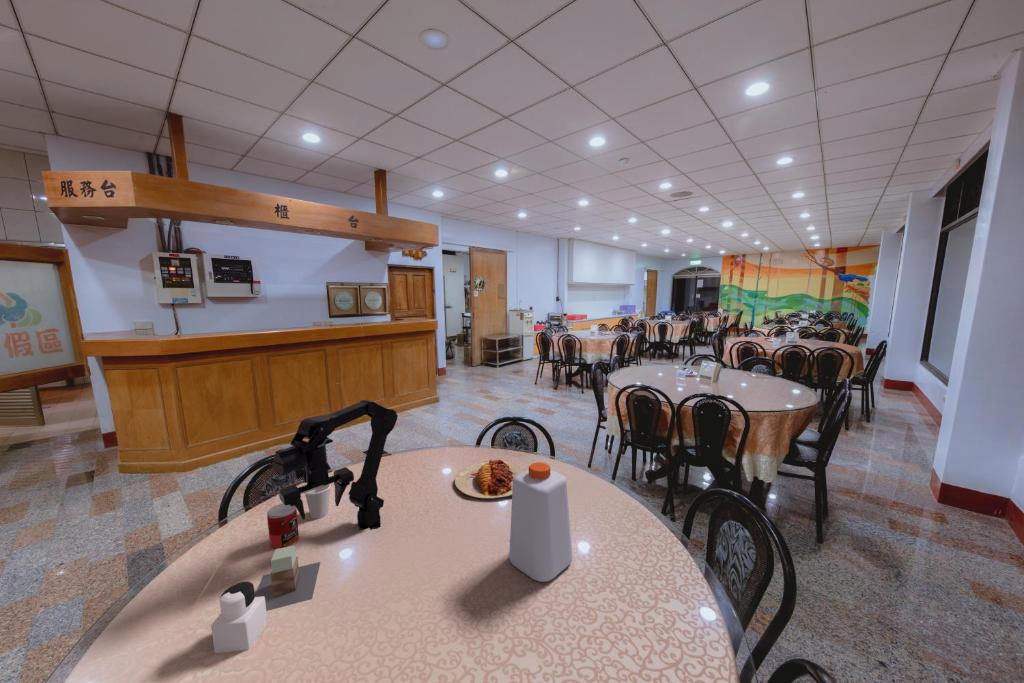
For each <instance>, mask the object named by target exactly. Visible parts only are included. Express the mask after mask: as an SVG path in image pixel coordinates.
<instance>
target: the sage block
mask: <svg viewBox="0 0 1024 683" xmlns="http://www.w3.org/2000/svg"><path fill="white" fill-rule="evenodd" d="M296 550H297V549H296V545H289V546H287V547H284V548H275V550H274V551H273V555H272V556H271V560H270V563H271V564H270V565H271V573H277V572H281V571H285V570H289V569H293V566H294V563H295V560H296V557H297V551H296Z"/></svg>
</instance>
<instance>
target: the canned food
mask: <svg viewBox="0 0 1024 683" xmlns="http://www.w3.org/2000/svg"><path fill="white" fill-rule="evenodd" d="M266 516H267V517H266V518H267V519H266V520H267V527H268V535H269V536H268V537H269V545H270V546H271V548H273V549H280V548H284V547H289V546H292V545H293V544H294V543H297V542H298V540H299V537H300V535H299V532H300V531H299V521H298V510H297V508H296V506H290V505H284V504H283V502H282V503H279V504H276V505H274V506H273V507H272V506H271V508H270V509H268V510H267V513H266Z"/></svg>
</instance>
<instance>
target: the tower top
mask: <svg viewBox="0 0 1024 683" xmlns="http://www.w3.org/2000/svg"><path fill="white" fill-rule="evenodd" d="M298 567H299V559H298V556H296V560H295V563H294V566H293V569H289V570H285V571H281V572H277V573H272V572H271V573H270V574H271V582H272V585H276V584H280V583H284V582H288V581H292V580H295V577H296V573H297V570H298Z"/></svg>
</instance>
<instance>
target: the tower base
mask: <svg viewBox="0 0 1024 683" xmlns="http://www.w3.org/2000/svg"><path fill="white" fill-rule="evenodd" d="M299 567H300V566H298V570H297V573H296V577H295V580H292V581H288V582H284V583H280V584H276V585H272V592H273V596H277V595H281V594H285V593H289V592H293V591H296V587H297V584H298V580H299Z"/></svg>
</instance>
